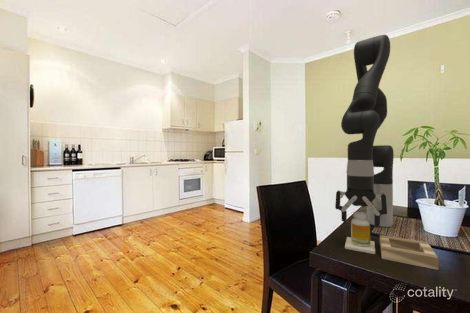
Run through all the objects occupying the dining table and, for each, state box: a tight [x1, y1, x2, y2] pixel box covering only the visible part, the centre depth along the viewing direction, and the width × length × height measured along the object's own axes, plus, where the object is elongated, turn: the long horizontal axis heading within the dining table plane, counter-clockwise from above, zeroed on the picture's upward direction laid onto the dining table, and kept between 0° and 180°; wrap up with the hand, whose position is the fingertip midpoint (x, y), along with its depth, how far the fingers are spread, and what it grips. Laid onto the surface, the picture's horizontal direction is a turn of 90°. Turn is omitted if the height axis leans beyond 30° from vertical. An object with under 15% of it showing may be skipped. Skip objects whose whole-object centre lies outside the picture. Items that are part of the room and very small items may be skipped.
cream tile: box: [344, 236, 376, 255], centre depth 71 cm, size 9×8×1 cm
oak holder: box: [379, 234, 439, 271], centre depth 65 cm, size 12×12×3 cm
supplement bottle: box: [350, 211, 371, 246], centre depth 71 cm, size 5×5×10 cm
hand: (359, 224), depth 72 cm, fingers open, 8 cm apart
